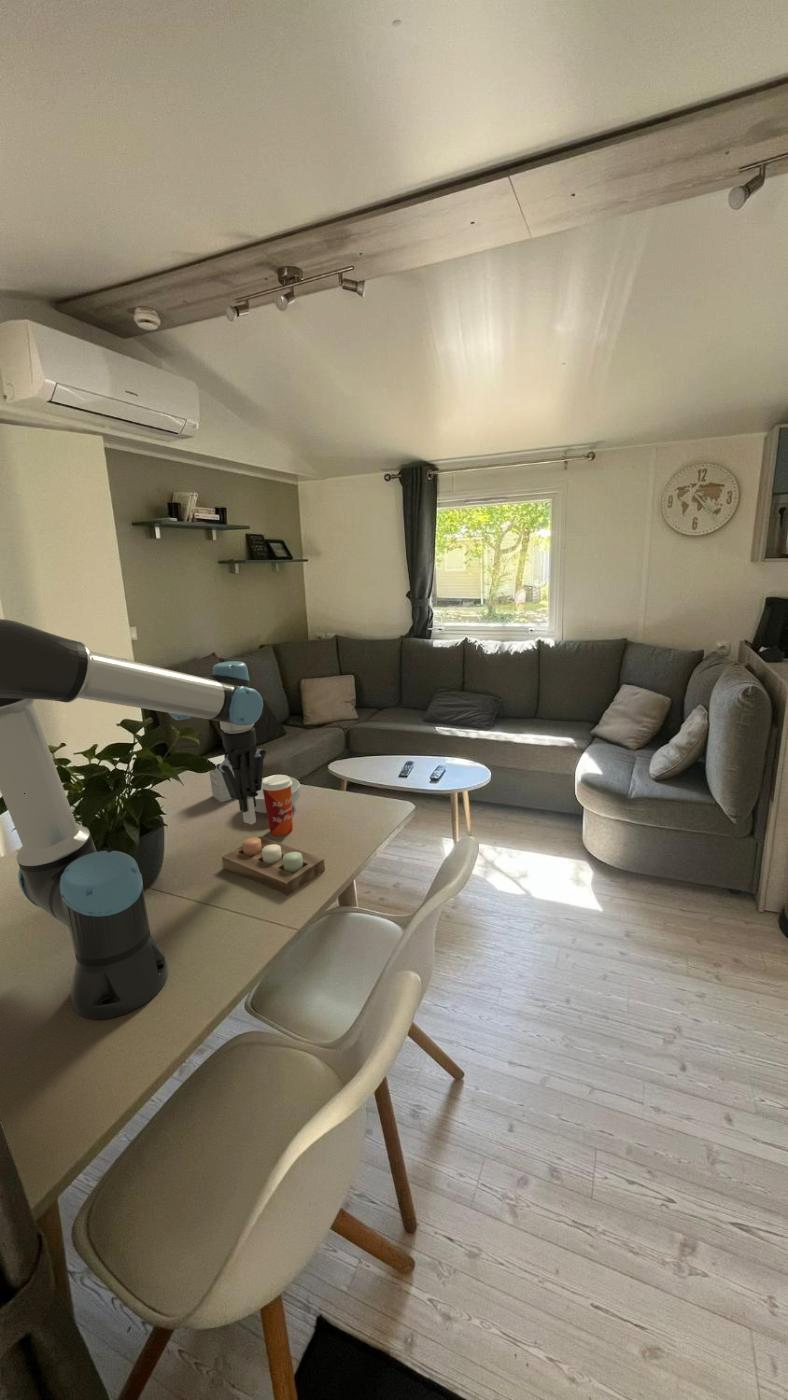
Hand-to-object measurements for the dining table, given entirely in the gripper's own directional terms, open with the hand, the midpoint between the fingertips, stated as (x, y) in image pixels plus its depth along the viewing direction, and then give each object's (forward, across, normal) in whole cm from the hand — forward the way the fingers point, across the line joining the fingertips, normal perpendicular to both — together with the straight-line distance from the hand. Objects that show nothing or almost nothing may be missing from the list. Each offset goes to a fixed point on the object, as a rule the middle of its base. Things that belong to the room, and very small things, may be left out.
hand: (249, 821), depth 136 cm
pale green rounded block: (+9, 0, -14) cm, 16 cm away
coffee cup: (+11, +15, +6) cm, 19 cm away
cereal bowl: (+11, +24, +19) cm, 32 cm away
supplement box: (+11, +23, +39) cm, 46 cm away
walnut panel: (+10, 0, -7) cm, 13 cm away
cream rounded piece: (+9, 0, -7) cm, 11 cm away
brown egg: (+9, 0, 0) cm, 9 cm away
